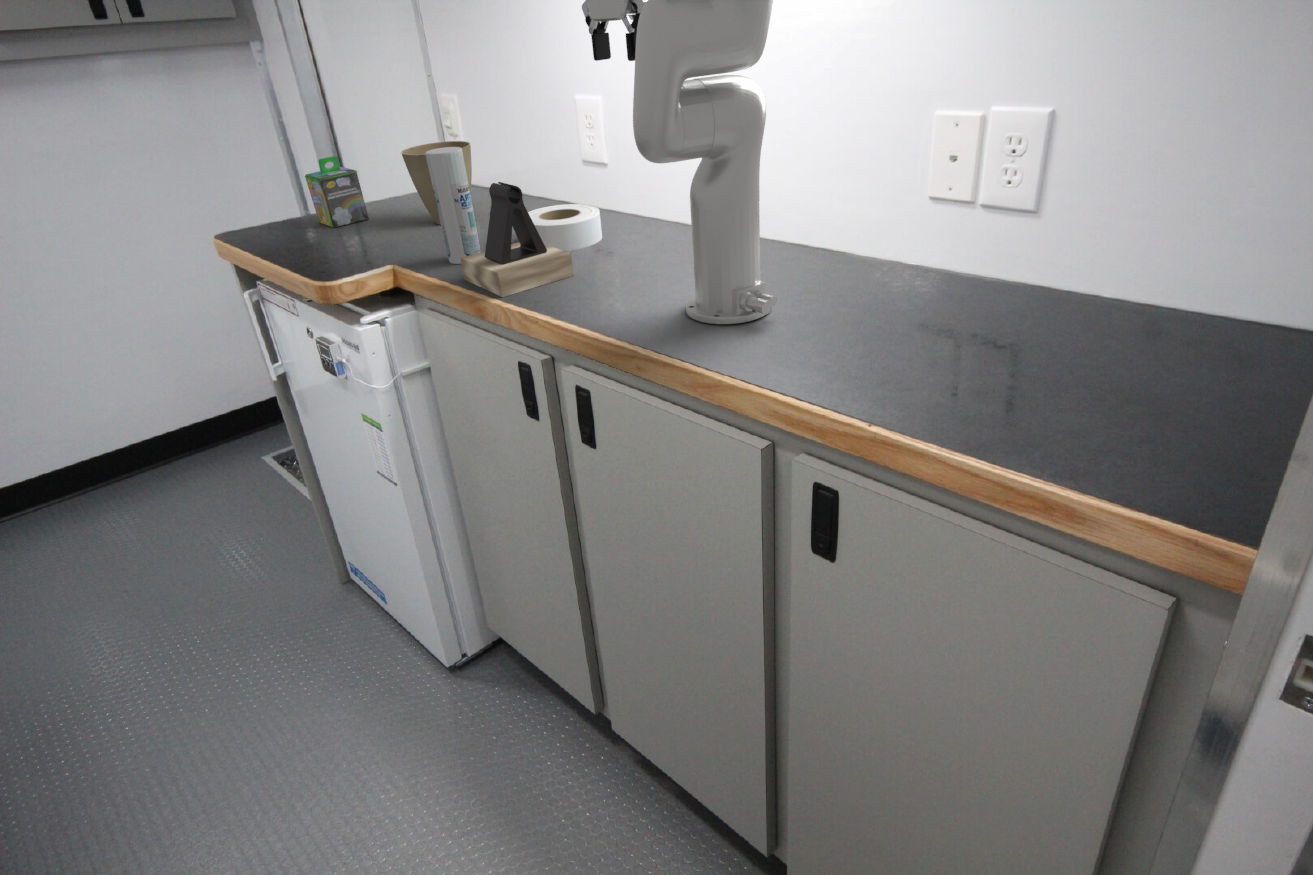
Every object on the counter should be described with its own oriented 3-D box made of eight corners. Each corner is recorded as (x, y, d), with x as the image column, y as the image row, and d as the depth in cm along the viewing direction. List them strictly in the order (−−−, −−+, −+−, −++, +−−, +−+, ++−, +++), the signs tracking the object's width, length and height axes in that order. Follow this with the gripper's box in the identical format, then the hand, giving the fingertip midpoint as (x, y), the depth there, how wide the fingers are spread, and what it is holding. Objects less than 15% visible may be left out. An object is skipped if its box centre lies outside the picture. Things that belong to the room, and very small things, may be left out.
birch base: (573, 275, 137) (570, 253, 135) (502, 297, 130) (498, 273, 128) (533, 260, 147) (529, 239, 145) (464, 279, 140) (460, 257, 138)
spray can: (456, 254, 155) (434, 147, 145) (487, 253, 154) (467, 146, 144) (442, 264, 149) (418, 154, 140) (474, 264, 148) (452, 152, 138)
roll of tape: (617, 240, 156) (614, 211, 153) (546, 258, 148) (542, 229, 146) (579, 226, 167) (575, 199, 165) (511, 243, 160) (506, 215, 157)
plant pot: (416, 218, 185) (400, 147, 177) (479, 209, 188) (466, 138, 180) (419, 233, 172) (402, 157, 165) (487, 222, 176) (473, 147, 168)
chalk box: (354, 215, 194) (337, 151, 186) (370, 219, 188) (353, 154, 180) (317, 223, 188) (298, 159, 181) (333, 229, 182) (314, 162, 175)
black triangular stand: (501, 265, 132) (488, 192, 126) (484, 258, 136) (471, 187, 131) (547, 252, 137) (536, 181, 131) (530, 246, 141) (519, 177, 135)
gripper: (661, -68, 119) (669, 57, 127) (596, -57, 131) (607, 57, 140) (621, -66, 115) (632, 63, 124) (558, -55, 127) (572, 62, 136)
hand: (619, 59), depth 132 cm, fingers open, 9 cm apart
